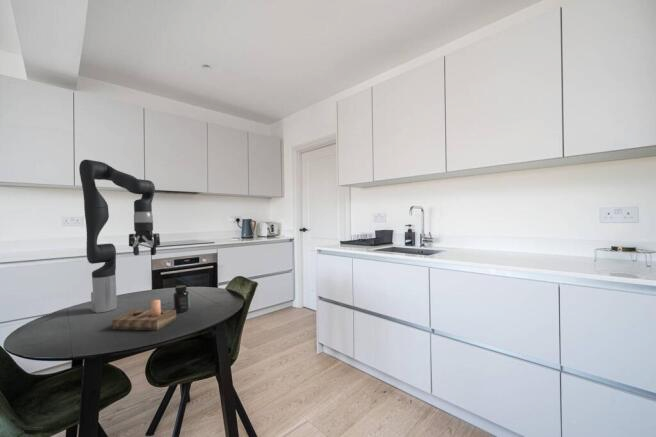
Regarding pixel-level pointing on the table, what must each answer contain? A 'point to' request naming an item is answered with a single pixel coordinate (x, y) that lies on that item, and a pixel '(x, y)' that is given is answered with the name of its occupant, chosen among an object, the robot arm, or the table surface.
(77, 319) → the table surface
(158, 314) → the orange tall block
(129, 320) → the wooden block with holes
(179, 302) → the supplement bottle
